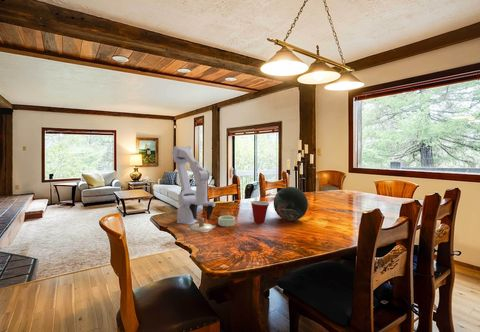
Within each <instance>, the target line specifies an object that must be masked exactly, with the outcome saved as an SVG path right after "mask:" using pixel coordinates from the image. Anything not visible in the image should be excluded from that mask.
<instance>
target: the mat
mask: <svg viewBox="0 0 480 332" xmlns="http://www.w3.org/2000/svg"><path fill="white" fill-rule="evenodd" d="M211 225H212V228H211V229H209V230H205V231H200V232H201V233H209V232H210V231H212V230H213V229H214V228H216V227H217V225H214V224H211ZM185 231H193V232H197V231H196V230H192V229H191V226H190V227H188V228H186V229H185Z"/></svg>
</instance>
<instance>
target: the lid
mask: <svg viewBox="0 0 480 332" xmlns="http://www.w3.org/2000/svg"><path fill="white" fill-rule="evenodd" d="M212 225H213V224H210V223H205V218H204V217H200V218H199V219H198V223H193V224H191V226H190V227H191V229H192V230H196V231H195V232H201V231H205V230H209V229H211V228H212ZM192 230H191V231H192ZM211 230H212V229H211Z"/></svg>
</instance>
